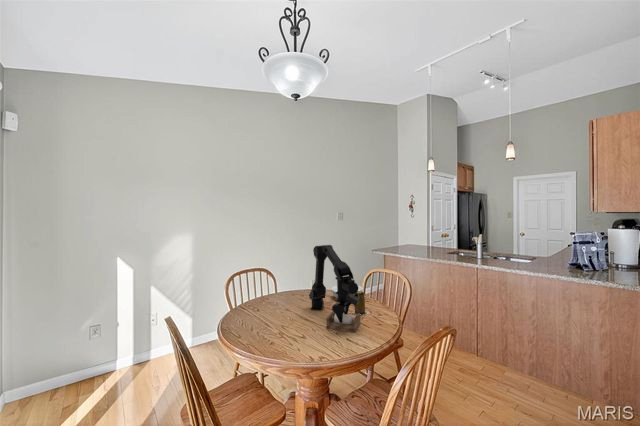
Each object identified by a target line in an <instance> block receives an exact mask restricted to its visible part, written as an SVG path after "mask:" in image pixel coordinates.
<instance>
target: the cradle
mask: <svg viewBox="0 0 640 426" xmlns="http://www.w3.org/2000/svg"><path fill="white" fill-rule="evenodd" d="M331 311H332V310H331ZM334 316H335V312H334V311H332V312H330V313H329V315H328V316H327V317H326V318H325V319H326V320H325V321H326V330H333V331H334V330H335V331H336V330H337V331H341V332H342V331H343V332H351V333H356V332H357V330H358V329H359V327H360V325H361V315H360V313H358V314H355V317H354V320H353V325H352V326H351V325H343V324H335V323H334Z"/></svg>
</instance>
